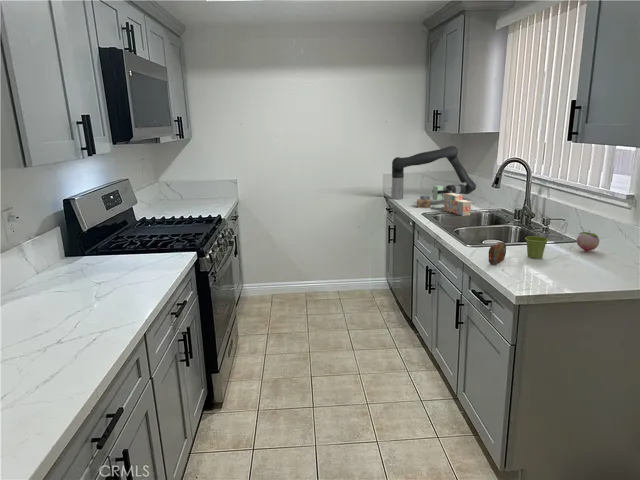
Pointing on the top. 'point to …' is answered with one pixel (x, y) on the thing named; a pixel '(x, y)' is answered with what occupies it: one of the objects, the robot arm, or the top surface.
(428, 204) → the walnut plinth
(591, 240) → the decorative fruit
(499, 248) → the tin
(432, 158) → the robot arm
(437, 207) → the swatch card
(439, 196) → the sage block
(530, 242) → the plant pot
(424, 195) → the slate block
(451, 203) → the stack of blocks
